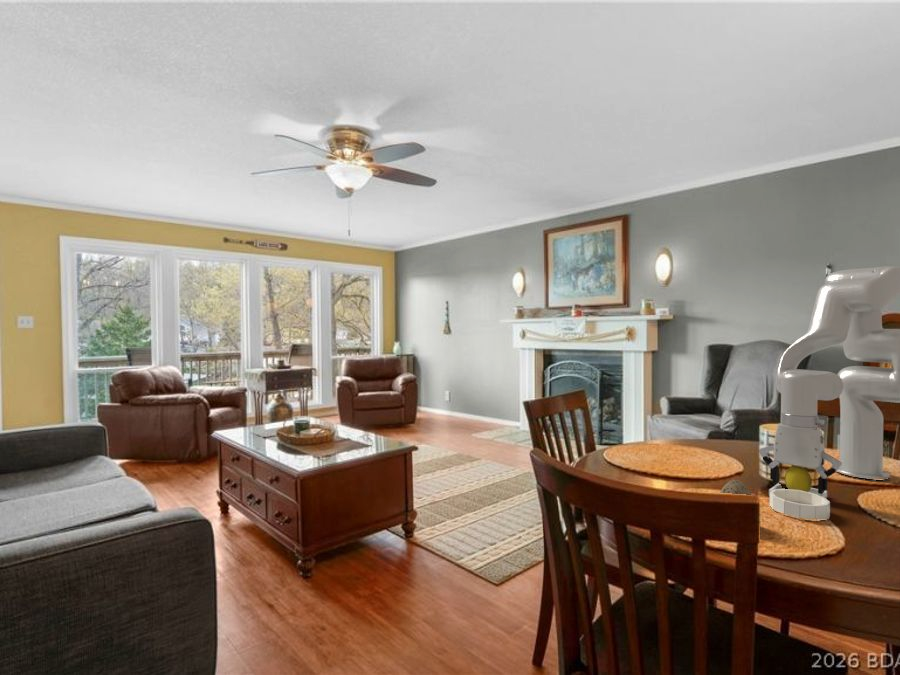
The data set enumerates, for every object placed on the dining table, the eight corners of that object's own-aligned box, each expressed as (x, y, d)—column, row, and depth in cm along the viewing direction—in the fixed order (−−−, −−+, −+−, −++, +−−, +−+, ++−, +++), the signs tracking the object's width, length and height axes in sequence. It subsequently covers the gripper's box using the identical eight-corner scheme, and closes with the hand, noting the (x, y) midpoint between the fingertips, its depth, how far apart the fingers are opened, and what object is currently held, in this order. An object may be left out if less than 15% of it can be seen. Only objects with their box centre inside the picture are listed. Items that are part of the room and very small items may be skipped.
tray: (780, 487, 128) (780, 481, 128) (827, 496, 121) (827, 491, 121) (768, 495, 122) (768, 489, 122) (817, 506, 114) (817, 500, 114)
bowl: (778, 499, 119) (778, 485, 119) (833, 512, 111) (834, 497, 111) (764, 510, 112) (764, 496, 112) (822, 525, 104) (822, 509, 103)
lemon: (816, 500, 118) (816, 469, 118) (791, 499, 119) (791, 467, 119) (804, 493, 124) (804, 462, 123) (780, 491, 125) (780, 461, 124)
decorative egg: (713, 525, 104) (713, 479, 104) (722, 515, 109) (722, 472, 109) (750, 534, 99) (751, 487, 99) (758, 524, 104) (759, 479, 104)
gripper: (845, 424, 117) (844, 493, 117) (764, 414, 130) (763, 476, 130) (838, 428, 112) (837, 500, 112) (754, 418, 125) (754, 482, 125)
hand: (797, 487), depth 121 cm, fingers open, 9 cm apart
